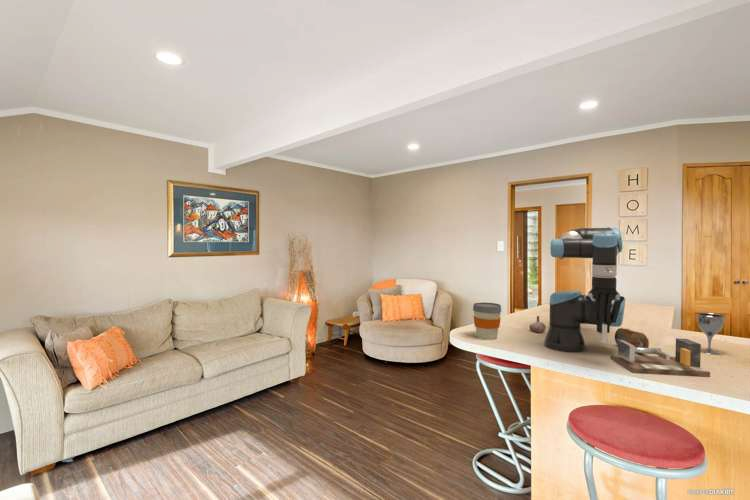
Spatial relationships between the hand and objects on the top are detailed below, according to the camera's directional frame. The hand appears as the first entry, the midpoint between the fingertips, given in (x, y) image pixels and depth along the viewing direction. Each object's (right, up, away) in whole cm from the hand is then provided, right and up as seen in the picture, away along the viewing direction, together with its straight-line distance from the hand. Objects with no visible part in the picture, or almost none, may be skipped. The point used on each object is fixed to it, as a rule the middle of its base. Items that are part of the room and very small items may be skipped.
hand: (602, 341), depth 133 cm
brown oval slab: (+22, -8, +16) cm, 28 cm away
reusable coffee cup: (-31, -7, +37) cm, 49 cm away
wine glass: (+52, -8, +15) cm, 54 cm away
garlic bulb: (-3, -7, +48) cm, 48 cm away
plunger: (+12, -6, -4) cm, 14 cm away
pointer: (+22, -5, -9) cm, 24 cm away
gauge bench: (+17, -8, -3) cm, 20 cm away
